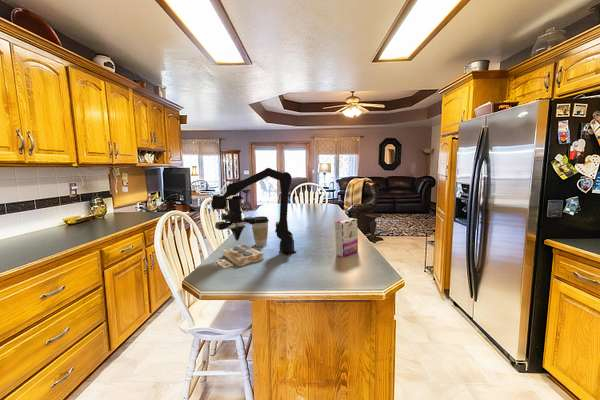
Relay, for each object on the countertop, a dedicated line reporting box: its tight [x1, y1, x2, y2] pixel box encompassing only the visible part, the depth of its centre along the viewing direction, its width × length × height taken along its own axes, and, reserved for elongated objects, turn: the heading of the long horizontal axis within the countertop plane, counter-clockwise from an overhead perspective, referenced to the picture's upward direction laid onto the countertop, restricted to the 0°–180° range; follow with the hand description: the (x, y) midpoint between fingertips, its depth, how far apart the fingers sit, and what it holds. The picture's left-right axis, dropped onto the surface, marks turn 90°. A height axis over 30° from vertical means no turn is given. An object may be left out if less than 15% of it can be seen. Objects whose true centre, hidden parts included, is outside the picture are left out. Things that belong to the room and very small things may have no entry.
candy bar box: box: [334, 217, 359, 258], centre depth 129 cm, size 11×5×16 cm, turn 131°
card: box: [217, 258, 234, 269], centre depth 122 cm, size 4×10×1 cm, turn 38°
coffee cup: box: [251, 215, 270, 247], centre depth 148 cm, size 10×10×15 cm
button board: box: [222, 244, 264, 267], centre depth 129 cm, size 12×18×3 cm, turn 38°
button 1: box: [233, 244, 241, 251], centre depth 133 cm, size 3×3×2 cm
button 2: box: [244, 250, 251, 256], centre depth 124 cm, size 3×3×2 cm
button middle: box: [239, 248, 246, 254], centre depth 128 cm, size 3×3×2 cm
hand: (237, 240), depth 132 cm, fingers closed
